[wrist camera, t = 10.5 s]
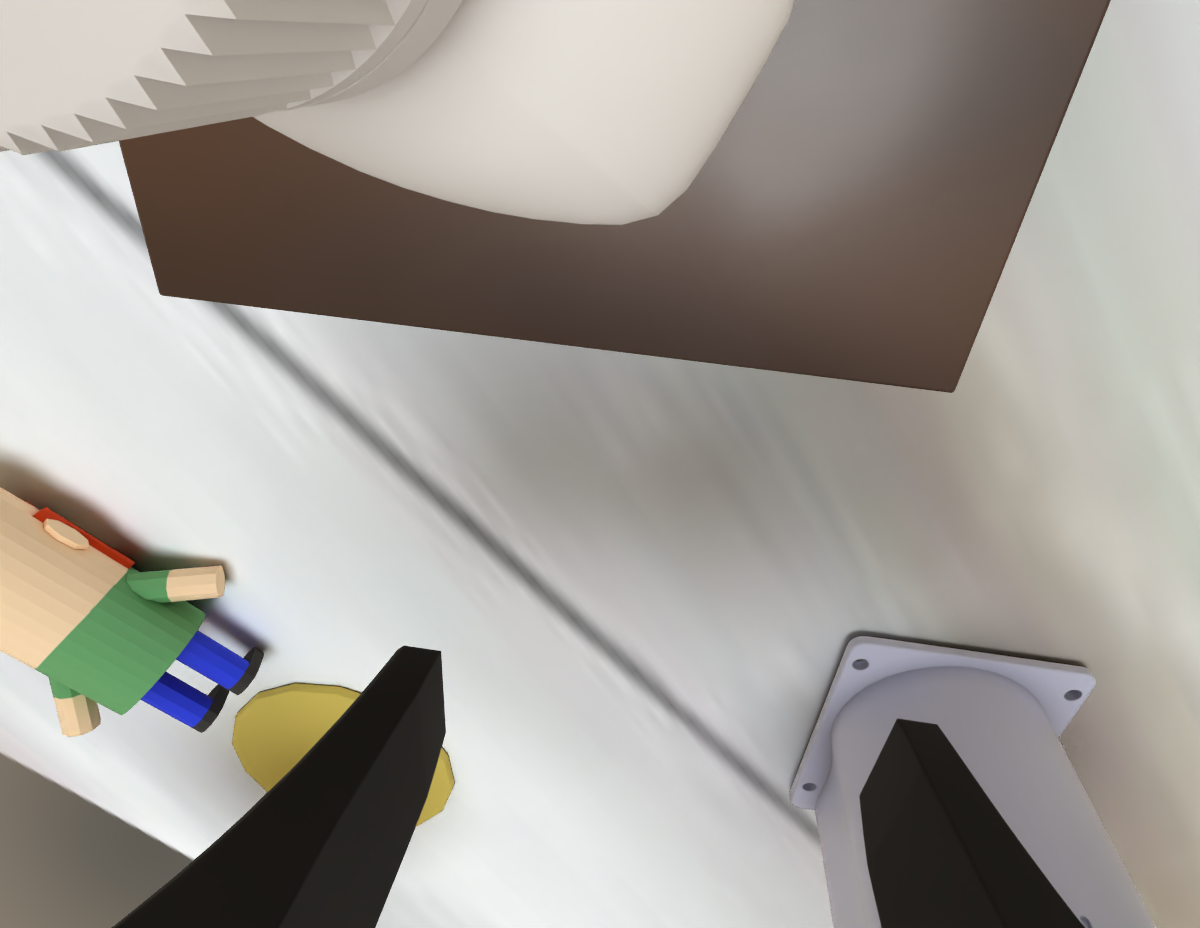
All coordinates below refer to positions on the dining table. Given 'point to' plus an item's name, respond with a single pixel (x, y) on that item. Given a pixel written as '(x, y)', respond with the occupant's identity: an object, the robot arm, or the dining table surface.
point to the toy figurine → (108, 623)
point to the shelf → (684, 210)
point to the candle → (306, 735)
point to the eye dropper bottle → (408, 88)
